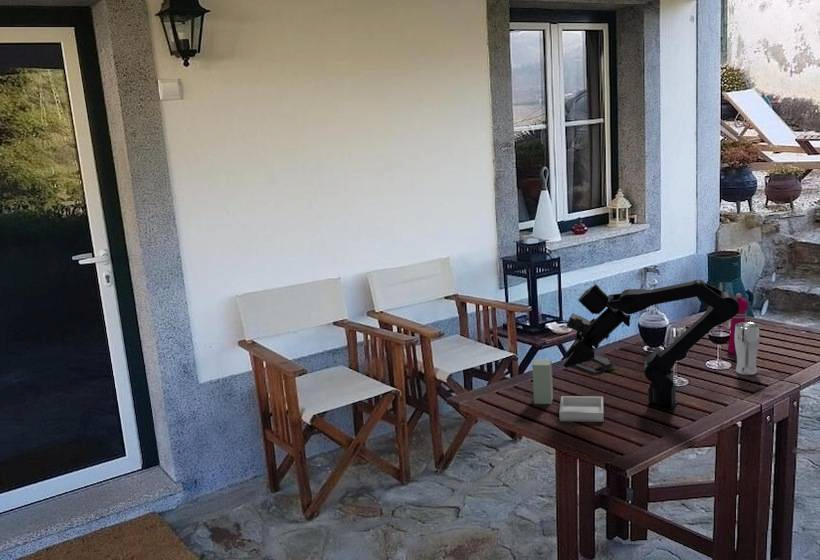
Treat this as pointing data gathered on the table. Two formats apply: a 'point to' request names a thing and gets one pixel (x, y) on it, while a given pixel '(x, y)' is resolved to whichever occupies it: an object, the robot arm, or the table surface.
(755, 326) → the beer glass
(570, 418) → the tray
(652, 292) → the robot arm
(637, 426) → the table surface
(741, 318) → the pepper mill
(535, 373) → the handle block
